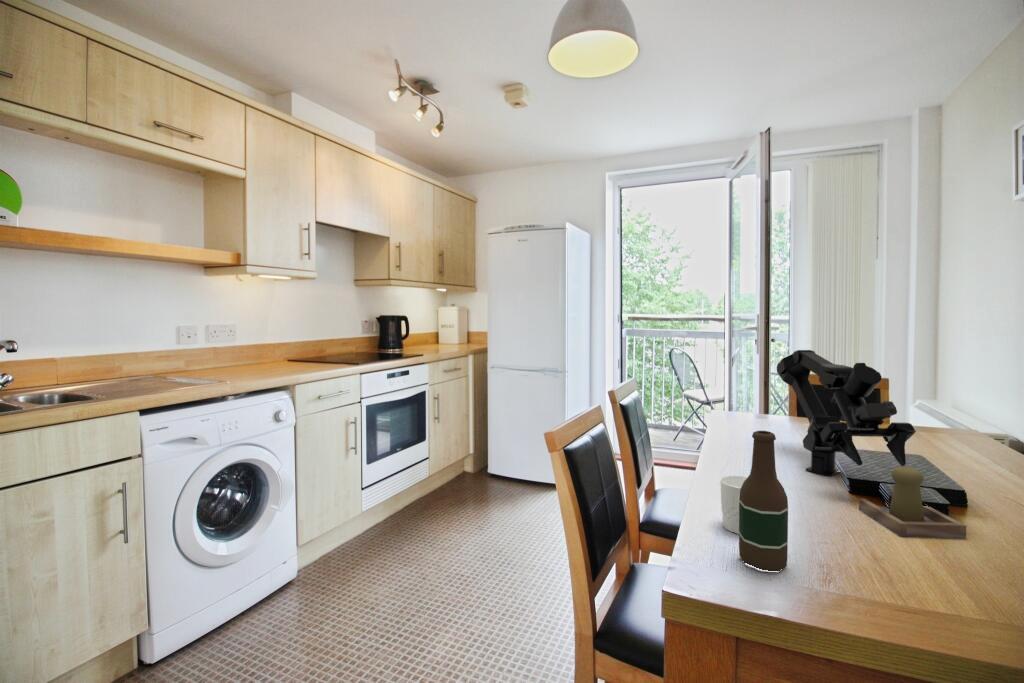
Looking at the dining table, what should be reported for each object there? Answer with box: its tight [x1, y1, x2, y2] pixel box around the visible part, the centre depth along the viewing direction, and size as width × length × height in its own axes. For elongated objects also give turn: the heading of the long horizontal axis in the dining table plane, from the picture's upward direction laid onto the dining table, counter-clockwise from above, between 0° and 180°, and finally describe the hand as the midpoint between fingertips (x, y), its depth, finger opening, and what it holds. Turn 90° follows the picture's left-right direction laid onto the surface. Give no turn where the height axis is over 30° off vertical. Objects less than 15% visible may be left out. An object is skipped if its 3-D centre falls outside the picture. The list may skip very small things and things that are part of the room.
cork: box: [889, 466, 925, 522], centre depth 101 cm, size 6×6×11 cm
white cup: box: [719, 475, 748, 535], centre depth 99 cm, size 8×8×10 cm
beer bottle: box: [738, 430, 789, 572], centre depth 85 cm, size 8×8×24 cm
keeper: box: [858, 498, 967, 540], centre depth 100 cm, size 13×12×3 cm
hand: (882, 464), depth 108 cm, fingers open, 9 cm apart
